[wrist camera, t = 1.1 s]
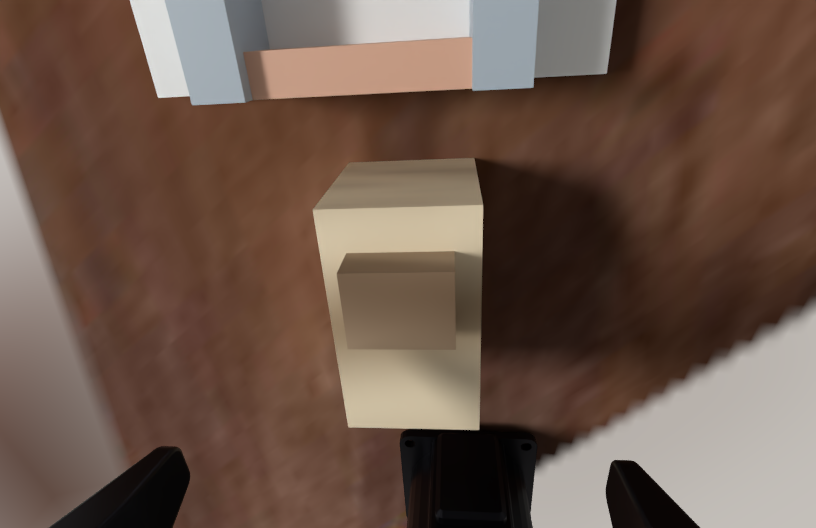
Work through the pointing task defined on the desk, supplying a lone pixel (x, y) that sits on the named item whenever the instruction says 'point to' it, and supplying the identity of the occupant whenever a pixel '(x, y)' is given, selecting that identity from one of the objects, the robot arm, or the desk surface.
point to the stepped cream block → (405, 291)
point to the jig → (366, 45)
